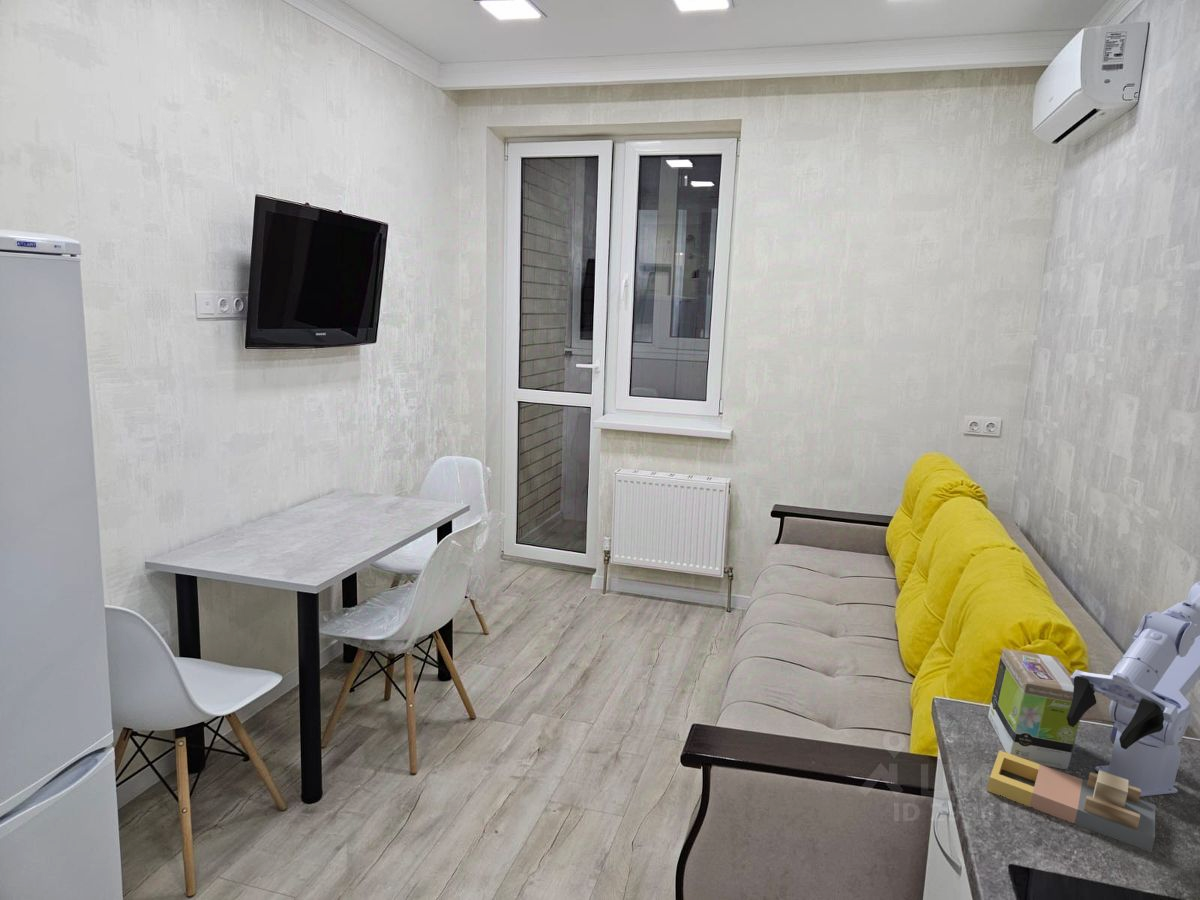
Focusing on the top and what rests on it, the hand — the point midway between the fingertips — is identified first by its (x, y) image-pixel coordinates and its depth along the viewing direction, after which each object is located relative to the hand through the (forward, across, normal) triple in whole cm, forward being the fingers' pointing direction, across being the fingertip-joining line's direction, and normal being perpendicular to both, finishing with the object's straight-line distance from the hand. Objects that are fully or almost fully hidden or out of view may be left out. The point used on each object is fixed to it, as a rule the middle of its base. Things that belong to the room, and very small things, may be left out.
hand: (1095, 732), depth 124 cm
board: (+6, -4, +14) cm, 16 cm away
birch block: (+3, +1, +13) cm, 14 cm away
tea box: (-5, -18, +20) cm, 27 cm away
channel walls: (+3, +2, +13) cm, 14 cm away
